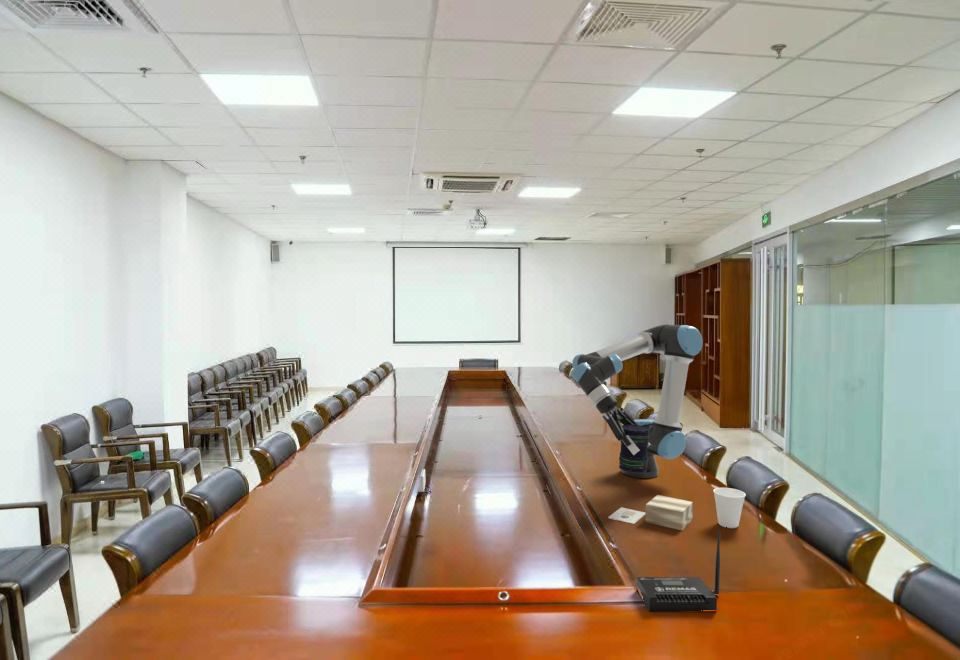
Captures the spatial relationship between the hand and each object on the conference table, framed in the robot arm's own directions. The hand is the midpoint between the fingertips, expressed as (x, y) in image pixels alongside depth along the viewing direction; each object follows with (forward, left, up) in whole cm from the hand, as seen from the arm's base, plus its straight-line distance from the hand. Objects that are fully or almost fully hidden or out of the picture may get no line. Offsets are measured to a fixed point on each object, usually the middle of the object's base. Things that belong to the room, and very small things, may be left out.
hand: (642, 449), depth 208 cm
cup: (-2, +29, -21) cm, 36 cm away
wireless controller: (+58, +31, -22) cm, 69 cm away
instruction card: (+10, -1, -21) cm, 23 cm away
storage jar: (0, -3, -8) cm, 8 cm away
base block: (+6, +12, -21) cm, 25 cm away
